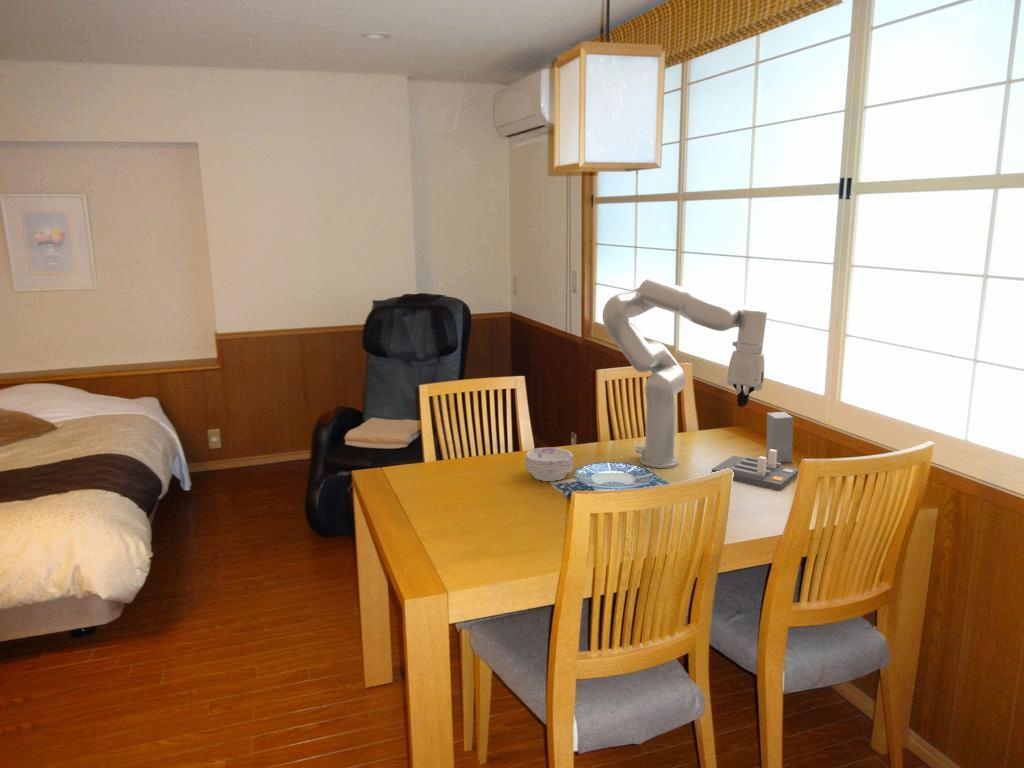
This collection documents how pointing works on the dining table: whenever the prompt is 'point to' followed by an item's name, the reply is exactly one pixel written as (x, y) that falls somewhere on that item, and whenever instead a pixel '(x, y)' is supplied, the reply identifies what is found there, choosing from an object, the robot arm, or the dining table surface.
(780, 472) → the breaker panel
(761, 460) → the block
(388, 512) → the dining table surface
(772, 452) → the breaker handle
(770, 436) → the skincare box
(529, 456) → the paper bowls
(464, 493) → the dining table surface
